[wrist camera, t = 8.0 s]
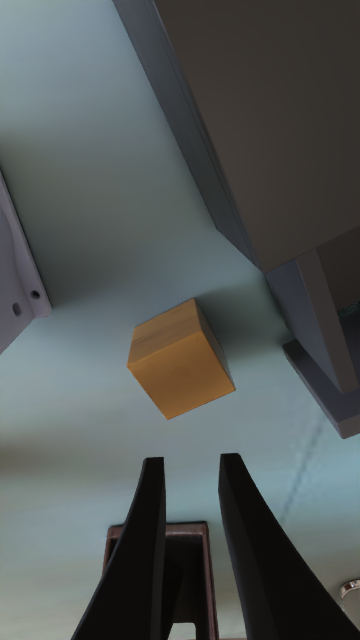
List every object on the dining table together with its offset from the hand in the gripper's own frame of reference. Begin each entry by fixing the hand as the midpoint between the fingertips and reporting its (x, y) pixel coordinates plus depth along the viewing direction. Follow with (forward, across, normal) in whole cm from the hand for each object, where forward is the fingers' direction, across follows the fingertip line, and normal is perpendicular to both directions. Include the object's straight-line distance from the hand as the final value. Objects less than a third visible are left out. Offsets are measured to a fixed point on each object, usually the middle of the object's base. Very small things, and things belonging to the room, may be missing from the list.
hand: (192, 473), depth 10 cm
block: (+10, 0, 0) cm, 10 cm away
